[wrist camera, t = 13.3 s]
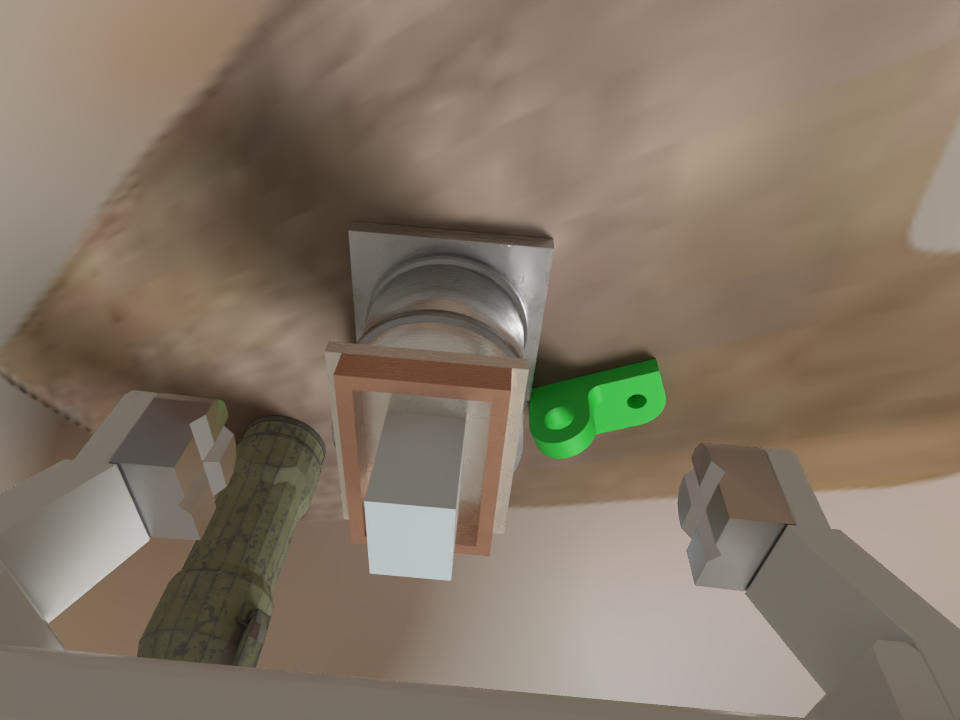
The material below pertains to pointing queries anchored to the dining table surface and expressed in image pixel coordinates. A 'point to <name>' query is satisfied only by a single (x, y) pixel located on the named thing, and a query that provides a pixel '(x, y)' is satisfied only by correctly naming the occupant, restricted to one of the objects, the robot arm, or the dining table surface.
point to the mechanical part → (594, 407)
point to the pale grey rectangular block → (415, 496)
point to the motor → (440, 357)
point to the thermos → (239, 551)
